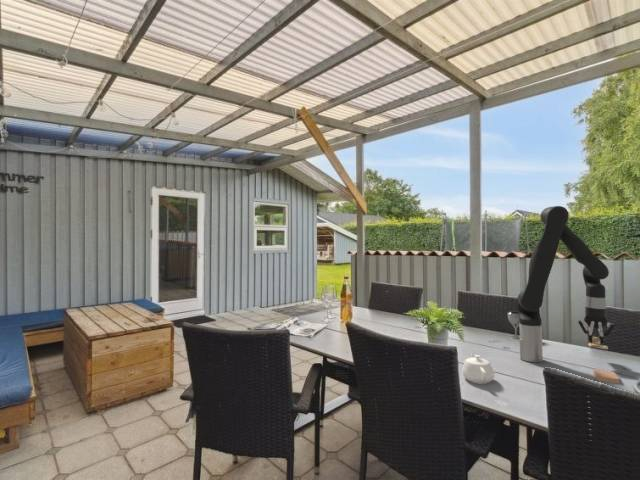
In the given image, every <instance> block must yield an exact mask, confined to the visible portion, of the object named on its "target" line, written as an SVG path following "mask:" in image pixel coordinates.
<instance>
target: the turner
mask: <svg viewBox="0 0 640 480" xmlns="http://www.w3.org/2000/svg"><path fill="white" fill-rule="evenodd" d="M587 345H588V346H589V347H590V348H597V349H604V350H609V347H608V346H607V345H605V344H600V339H599V336H598V337H597V336H592V343H590V342H588V344H587Z"/></svg>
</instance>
